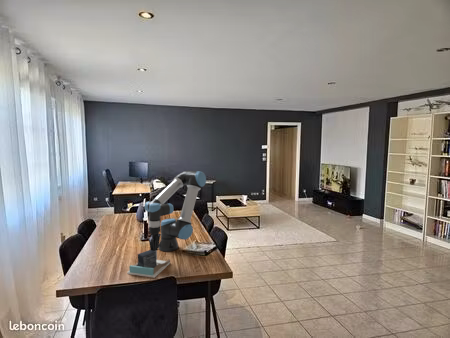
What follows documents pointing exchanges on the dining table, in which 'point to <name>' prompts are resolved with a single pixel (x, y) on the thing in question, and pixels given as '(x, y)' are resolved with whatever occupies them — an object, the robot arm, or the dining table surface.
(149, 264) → the small box
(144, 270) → the light blue shallow tray
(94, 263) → the dining table surface
